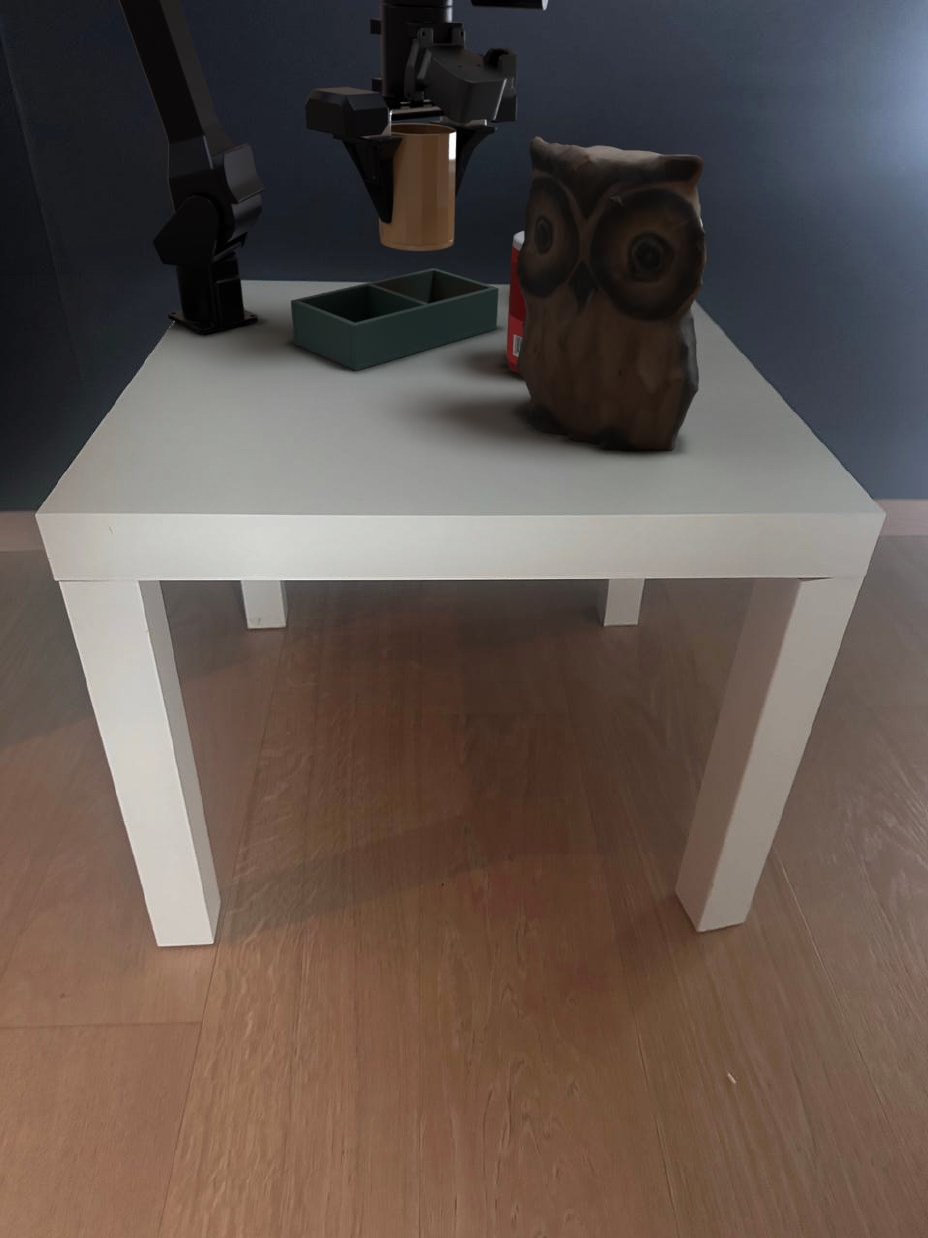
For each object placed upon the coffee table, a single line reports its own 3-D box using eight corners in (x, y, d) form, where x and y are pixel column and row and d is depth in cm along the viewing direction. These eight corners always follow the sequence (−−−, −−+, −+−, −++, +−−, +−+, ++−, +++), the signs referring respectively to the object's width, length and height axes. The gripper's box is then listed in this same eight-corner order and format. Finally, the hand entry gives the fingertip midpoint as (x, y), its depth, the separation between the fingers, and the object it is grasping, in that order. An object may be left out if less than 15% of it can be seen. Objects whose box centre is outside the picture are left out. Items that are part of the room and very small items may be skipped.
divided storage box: (293, 343, 86) (290, 300, 84) (433, 306, 96) (433, 267, 94) (355, 370, 81) (354, 325, 78) (496, 329, 91) (498, 287, 89)
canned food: (598, 384, 80) (614, 251, 73) (506, 381, 80) (514, 248, 73) (589, 353, 86) (603, 228, 80) (504, 350, 86) (511, 225, 80)
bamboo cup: (365, 239, 82) (361, 126, 77) (421, 229, 86) (421, 121, 81) (412, 255, 79) (412, 137, 73) (469, 243, 82) (472, 130, 77)
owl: (691, 457, 68) (747, 160, 57) (523, 459, 67) (545, 157, 56) (648, 392, 79) (688, 129, 67) (502, 393, 77) (516, 126, 66)
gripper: (388, 11, 62) (392, 252, 71) (572, 10, 73) (555, 220, 82) (294, 3, 69) (308, 225, 78) (475, 3, 79) (469, 198, 88)
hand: (416, 217), depth 81 cm, fingers closed on bamboo cup, 6 cm apart
